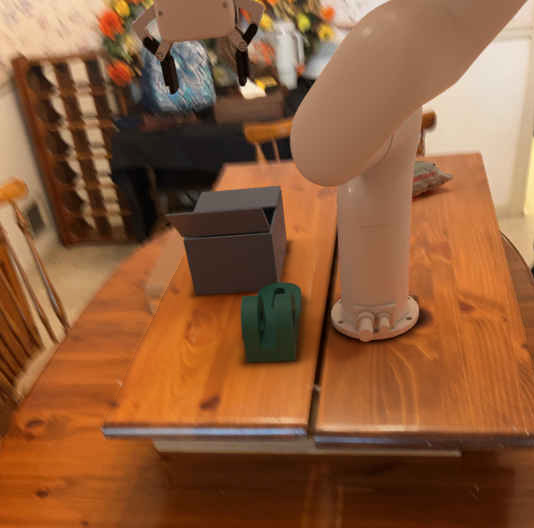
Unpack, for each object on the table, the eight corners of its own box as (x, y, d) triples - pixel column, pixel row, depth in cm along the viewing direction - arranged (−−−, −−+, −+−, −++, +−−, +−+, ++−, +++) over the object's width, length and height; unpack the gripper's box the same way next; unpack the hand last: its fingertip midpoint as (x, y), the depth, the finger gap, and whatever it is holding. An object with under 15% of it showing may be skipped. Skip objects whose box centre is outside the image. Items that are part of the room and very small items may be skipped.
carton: (278, 290, 103) (271, 229, 96) (195, 295, 105) (182, 235, 98) (287, 242, 115) (281, 185, 108) (212, 248, 117) (201, 192, 110)
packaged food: (452, 190, 122) (454, 163, 118) (400, 209, 119) (401, 181, 115) (424, 178, 128) (424, 152, 124) (374, 196, 125) (373, 169, 121)
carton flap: (270, 228, 96) (270, 230, 96) (182, 235, 98) (182, 237, 98) (261, 206, 88) (261, 208, 88) (165, 214, 90) (165, 216, 90)
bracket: (295, 360, 88) (289, 310, 83) (247, 362, 90) (238, 312, 84) (303, 294, 101) (299, 246, 96) (261, 296, 102) (254, 249, 97)
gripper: (257, -90, 77) (274, 73, 89) (121, -68, 80) (154, 87, 92) (250, -84, 72) (268, 88, 84) (104, -61, 75) (142, 102, 86)
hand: (209, 87), depth 88 cm, fingers open, 9 cm apart
